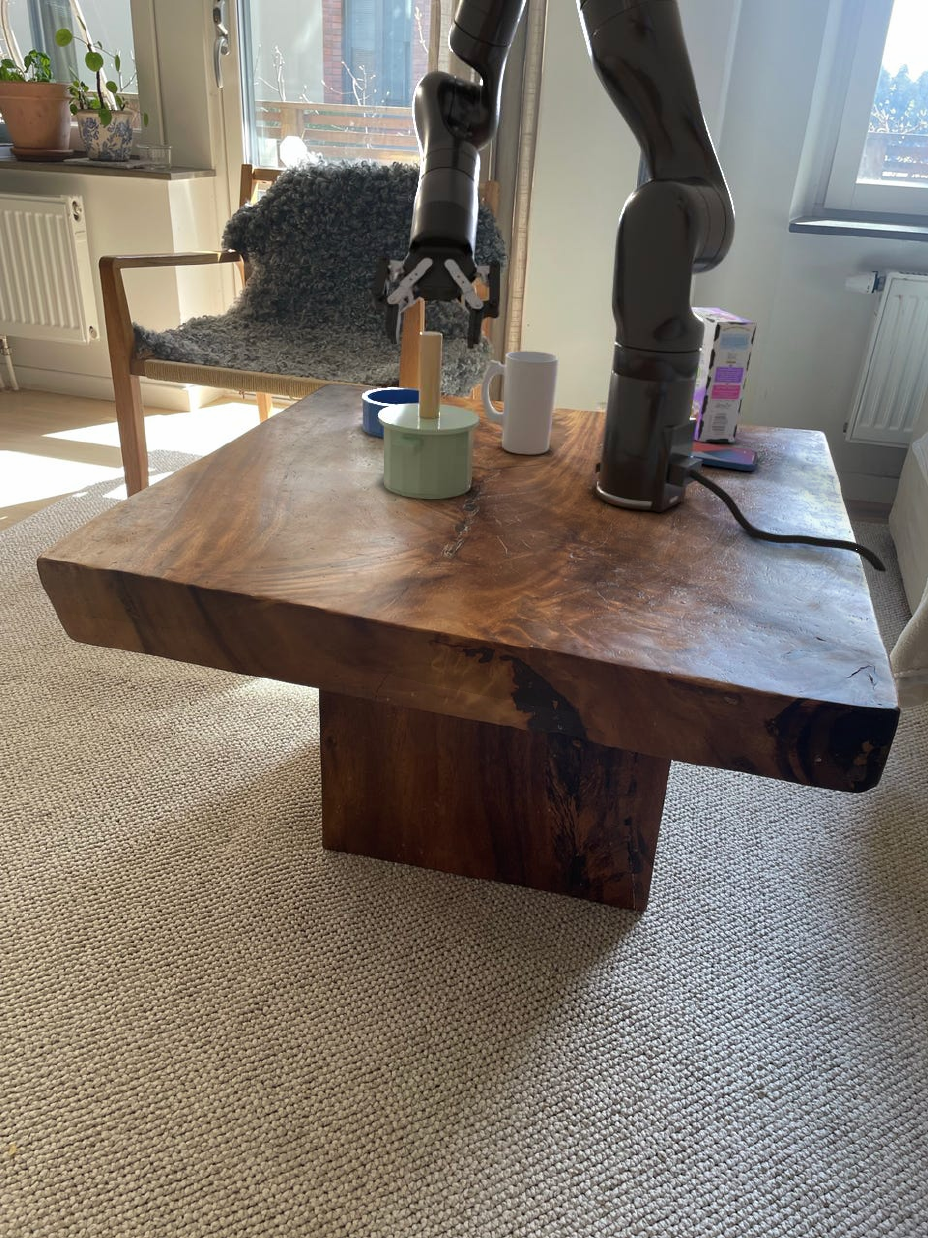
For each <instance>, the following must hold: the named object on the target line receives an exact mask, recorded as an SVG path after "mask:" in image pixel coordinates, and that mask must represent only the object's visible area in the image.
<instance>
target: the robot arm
mask: <svg viewBox="0 0 928 1238" xmlns="http://www.w3.org/2000/svg"><path fill="white" fill-rule="evenodd" d="M526 1H527V0H458V3H457V6H456V9H455V13H454V16H453V20H452V23H451V26H450V30H449V35H448V46H449V49H450V51H451V52H452V54H453V55H454V56H455V57H456V58H458V59H459V60H460V61H461V62H463V63H464V64H465V65H467V66H469V67H470V68H471V69H473V71H475V72H476V73H477V74H478V75H479V77H480V81H479V83H476V82H473V81H470V80H468V79H465V78H462V77H460V76H457V75H454V74H451V73H448V72H445V71H443V70H433V71H430V72H428V73H427V74H425V75H424V76H423V77H422V78H421V79H420V81H419V82H418V84H417V86H416V88H415V91H414V95H413V100H412V117H413V118H412V119H413V124H414V130H415V135H416V139H417V142H418V148H419V154H420V160H421V161H420V162H421V163H420V171H419V179H418V187H417V190H416V194H415V197H414V203H413V212H412V219H411V229H410V237H409V245H408V253H407V255H406V257H405V258H404V260H394V259H391V257H390V255H389V254H387V253H382V254H380V256H379V257H378V263H377V266H376V271H375V276H374V281H373V286H372V291H371V296H372V297H371V298H372V302H373V308H374V310H375V311H376V312H379V313H381V312H385V321H384V331H385V336H386V339H387V340H390V344H391V345H398V344H399V339H400V331H401V330H400V329H401V322H402V317H401V316H402V315H401V314H402V313H403V312H405V311H406V310H407V309H408V308H412V307H413V306H414V305H415V304H416V303H418V302H419V301H420V300H421V299H423V301H424V302H434V301H440V302H442V303H452V301H454V300H455V301H456V303H458V305H459V306H460V307H461V309H462V310H463V311H466V313H467V314H468V327H467V335H466V336H467V339H466V342H467V343H466V345H467V347H466V348H467V349H468V350H474V349H475V345H479V344H481V341H482V330H483V329H482V328H483V321H484V320H485V319H487V318H490V319H498V318H499V317H500V311H501V309H500V307H501V306H500V305H501V263H500V261H499V260H497V259H492V260H490V262H489V264H488V265H485V264H484V265H480V264H479V265H477V263H476V261H475V251H476V241H477V229H478V226H479V219H478V218H479V187H480V186H479V185H480V176H481V175H480V173H481V157H480V154H479V152H480V151H482V150H484V149H486V148H487V147H488V146H489V145H490V144H491V143H492V142H493V140H494V139H495V137H496V135H497V133H498V128H499V124H500V123H499V122H500V112H501V101H502V100H501V99H502V89H503V88H502V86H503V80H504V73H505V68H506V64H507V59H508V55H509V52H510V49H511V46H512V43H513V41H514V38H515V35H516V32H517V29H518V26H519V23H520V20H521V17H522V15H523V11H524V8H525V5H526ZM576 6H577V10H578V15H579V19H580V23H581V27H582V31H583V35H584V39H585V43H586V47H587V48H586V49H587V53H588V55H589V58H590V61H591V65H592V67H593V69H594V71H595V73H596V76H597V78H598V79H599V81H600V83H601V85H602V87H603V89H604V91H605V92H606V94H607V95H608V97H609V98H610V100H611V101H612V104H613V105H614V107H616V109H617V111H618V113H619V114H620V115H621V117H622V118H623V120H624V121H625V123H626V124H627V126H628V128H629V129H630V131H631V133H632V134H633V136H634V138H635V140H636V142H637V144H638V146H639V149H640V151H641V154H642V157H643V160H644V162H645V166H646V169H647V173H648V177H649V180H646V181H644V182H643V183H641V184H640V185H638V186H637V187H636V188H635V189H634V190H633V191H632V192H631V193H630V195H629V196H628V198H627V199H626V201H625V203H624V205H623V208H622V210H621V214H620V216H619V220H618V224H617V231H616V236H615V245H614V247H615V248H614V260H613V273H612V274H613V276H612V287H611V288H612V289H611V311H612V316H613V320H614V323H615V336H614V343H613V353H612V362H611V370H610V377H609V386H608V396H607V404H606V412H605V420H604V429H603V435H602V436H603V437H602V446H601V455H600V462H598V463H596V464H595V469H594V474H597V473H598V476H597V477H598V478H597V479H598V480H597V483H596V490H595V493H596V495H597V497H598V498H599V499H601V500H602V501H604V502H606V503H608V504H609V505H610V504H611V505H614V506H616V507H620V508H624V509H631V510H640V511H641V510H642V511H652V512H654V513H655V512H656V513H662V512H664V511H666V510H667V509H670V508H672V507H674V506H676V505H677V504H679V503H680V502H682V501H683V502H684V500H685V496H686V492H687V491H686V490H687V486H688V485H690V484H692V483H695V482H697V483H698V484H700V485H702V486H703V487H705V488H706V489H707V490H709V491H710V492H711V493H713V494H714V495H715V496H717V497H718V498H719V499H720V500H721V501H722V502H723V503H724V504H725V506H726V507H727V508H728V510H729V512H730V513H731V515H732V517H733V519H734V520H735V521H736V522H737V523H738V525H739V526H741V528H742V529H743V530H744V531H746V532H747V533H748V534H749V535H750V536H752V537H754V538H756V539H758V540H762V541H765V542H769V543H774V544H782V545H783V544H784V545H785V544H790V545H791V544H795V545H796V544H799V545H809V546H814V547H819V548H820V547H821V548H829V549H830V548H831V549H840V550H846V551H850V552H853V553H856V554H858V555H859V556H861V557H863V558H864V559H865V560H867V562H868V563H869V564H870V565H871V566H872V567H873V569H874V570H876V571H878V572H882V573H885V572H887V569H886V567H885V565H884V563H883V562H882V560H881V559H880V558H879V556H877V554H875V552H873V551H872V550H871V549H870V548H868V547H866V546H865V545H862V544H861V543H858V542H854V541H851V540H845V539H837V538H827V537H826V538H825V537H818V536H812V535H806V534H805V535H804V534H778V533H772V532H769V531H764V530H762V529H759V528H757V527H756V526H754V525H753V524H752V523H751V522H750V521H748V519H747V518H746V517H745V516H744V515H743V513H742V512H741V510H740V509H739V506H738V505H737V504H736V502H735V500H734V499H733V498H732V497H731V496H730V494H728V493H727V492H726V491H725V490H724V489H723V488H722V487H720V486H719V485H718V484H716V483H715V482H713V481H712V480H710V479H709V478H707V477H706V476H704V475H703V474H702V473H701V469H702V465H703V464H702V459H698V458H694V457H692V456H691V455H692V449H693V443H694V442H695V439H694V437H695V431H696V425H697V420H696V419H695V418H692V417H691V411H692V405H693V398H694V392H695V386H696V379H697V374H698V368H699V361H700V355H701V349H702V345H703V338H704V331H705V325H704V322H703V320H702V319H701V318H700V317H699V316H697V315H696V314H695V313H694V312H693V311H692V308H691V307H692V305H691V292H692V283H693V281H692V280H693V276H697V275H701V274H706V273H708V272H711V271H713V270H715V269H716V268H717V267H718V266H719V265H720V264H721V263H722V262H723V261H724V260H725V258H726V257H727V255H728V254H729V252H730V249H731V247H732V246H733V245H732V244H733V242H734V241H733V240H734V237H735V230H736V216H735V209H734V204H733V200H732V197H731V193H730V191H729V187H728V184H727V181H726V179H725V176H724V172H723V170H722V168H721V165H720V162H719V159H718V156H717V154H716V150H715V148H714V145H713V142H712V139H711V136H710V133H709V130H708V127H707V123H706V120H705V116H704V113H703V108H702V105H701V100H700V96H699V92H698V87H697V82H696V77H695V74H694V69H693V66H692V61H691V57H690V54H689V49H688V45H687V41H686V37H685V33H684V28H683V22H682V17H681V12H680V7H679V3H678V0H576ZM401 274H402V275H403V276H404V279H402V280H401V281H400V283H399V285H398V287H397V288H396V289H395V290H394V291H393V292H392V293H391V294H390V295H389V294H388V293H389V290H390V284H391V283H394V282H395V280H396V279H397V277H398V276H399V275H401ZM477 278H478V279H480V280H481V283H482V285H484V286H485V288H488V299H486V300H482V299H481V297H480V296H479V295H478V294H477V292H476V291H475V289H474V286H473V285H472V284H473V283H474V282H476V280H477ZM856 549H857V550H856Z"/></svg>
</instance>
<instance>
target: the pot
mask: <svg viewBox="0 0 928 1238" xmlns="http://www.w3.org/2000/svg"><path fill="white" fill-rule="evenodd" d="M474 441H475V429H473V430H470V431H467V432H463V433H458V434H450V435H420V434H411V433H404V432H400V431H396V430H392V429H389V428H387V427H385V426H384V438H383V486H384V488H386V489H387V490H388V491H389V492H391V493H393V494H396V495H398V496H402V497H406V498H413V499H419V500H444V499H450V498H456V497H458V496H462V495H464V494H466V493H468V491H470V490H471V487H472V484H473V483H472V481H473V462H474Z"/></svg>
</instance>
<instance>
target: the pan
mask: <svg viewBox="0 0 928 1238" xmlns="http://www.w3.org/2000/svg"><path fill="white" fill-rule="evenodd" d="M413 403H419V388H408V387H387V388H377V389H373V390H372V389H371V390H368V391H366V392H365V393H362V430H363V431H364V432H365V433H367V434H368V435H371V436H373V437H378V438H382V439H384V426H383V425H382V424H380V422H379V413H380V411H382V410H383V409H385V408H388V407H392V406H396V405H402V404H413Z"/></svg>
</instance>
